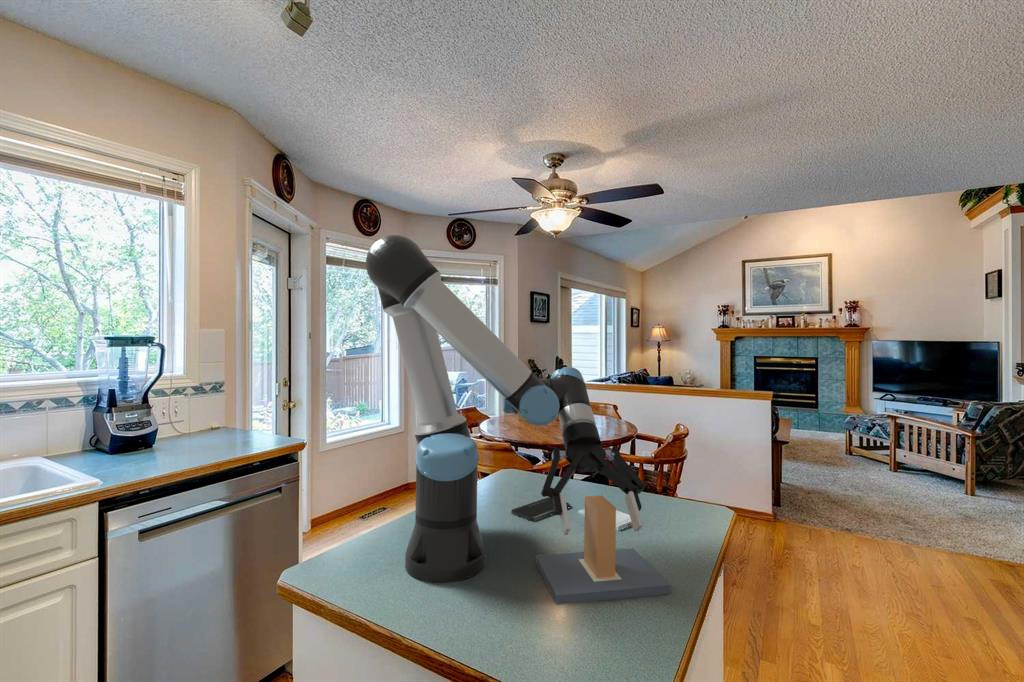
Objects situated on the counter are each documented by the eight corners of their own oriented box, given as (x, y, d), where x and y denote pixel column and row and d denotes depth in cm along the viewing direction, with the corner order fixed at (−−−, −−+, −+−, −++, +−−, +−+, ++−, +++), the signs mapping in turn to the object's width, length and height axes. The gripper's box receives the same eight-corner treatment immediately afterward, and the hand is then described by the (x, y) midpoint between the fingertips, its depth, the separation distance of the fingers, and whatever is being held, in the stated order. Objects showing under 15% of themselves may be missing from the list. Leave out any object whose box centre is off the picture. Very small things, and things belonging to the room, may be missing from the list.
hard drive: (577, 510, 112) (618, 525, 103) (599, 503, 117) (640, 517, 108) (577, 517, 112) (618, 533, 103) (599, 509, 117) (640, 524, 108)
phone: (572, 504, 117) (532, 519, 107) (572, 508, 117) (531, 523, 107) (549, 496, 123) (509, 510, 113) (549, 500, 123) (509, 514, 112)
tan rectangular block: (596, 578, 78) (597, 508, 78) (584, 560, 85) (584, 496, 85) (615, 576, 79) (615, 507, 79) (601, 559, 85) (602, 495, 85)
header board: (556, 604, 73) (556, 579, 73) (535, 563, 87) (536, 541, 87) (670, 593, 77) (670, 569, 77) (633, 555, 91) (633, 535, 91)
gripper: (628, 439, 101) (660, 535, 86) (519, 440, 97) (532, 541, 82) (640, 419, 96) (675, 518, 81) (524, 420, 92) (539, 524, 77)
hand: (603, 530), depth 82 cm, fingers open, 13 cm apart
